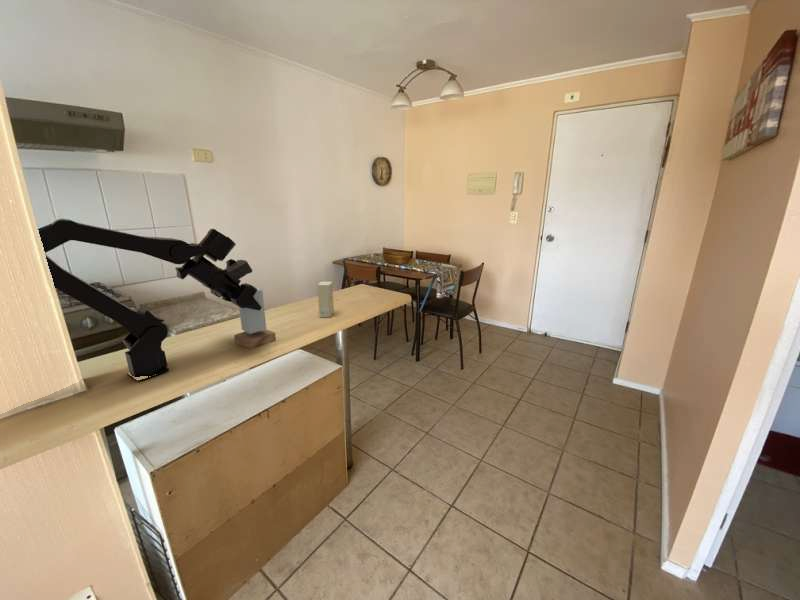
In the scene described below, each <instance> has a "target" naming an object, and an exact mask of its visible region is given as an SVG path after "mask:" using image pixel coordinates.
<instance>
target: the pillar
mask: <svg viewBox="0 0 800 600" xmlns="http://www.w3.org/2000/svg"><path fill="white" fill-rule="evenodd" d="M254 287H255V288H256V289H257V292H256V293H255V295H254V296H253V297H254V298H255V300H256V301H257V302H258V303H259V305H260V306H261V307H262V308H261V310H254V309H249V308H243V309H242V308H240V307H238V308H239V317H240V323H241V324H240V326H241V330H242V331H243V332H247V333H249V334H251V333H255V332H259V331H262V330H267V323H266V322H267V321H266V313H265V304H264V303H265V302H264V294H263V293H264V292H263V289H261V288H258V287H256V286H254Z"/></svg>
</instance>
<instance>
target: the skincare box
mask: <svg viewBox="0 0 800 600" xmlns="http://www.w3.org/2000/svg"><path fill="white" fill-rule="evenodd" d="M316 285H317V289H316V290H317V298H318V302H317V303H318V315H319V318H332V316H333V315H334V314H335V303H334V290H333V281H319V282H318V284H316Z"/></svg>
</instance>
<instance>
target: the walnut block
mask: <svg viewBox="0 0 800 600" xmlns="http://www.w3.org/2000/svg"><path fill="white" fill-rule="evenodd" d="M233 335H234V336H233V337H234V343H235V344H236V345H239V346H242V347H243V346H244V347H243V348H246V347H247V349H248V350H251V349H252V350H255V349H257V347H258V348H260V347H263V346H266V345H267V343H268V344H271V343H273V342H275V340H276V341H277V339H276V332H275V331H272V330H269V329H266V330H262V331H259V332H255V333H251V334H249V333H247V332H245V331H243V332H240V333H236V334H233ZM272 341H273V342H272ZM270 342H271V343H270Z"/></svg>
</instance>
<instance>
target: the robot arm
mask: <svg viewBox="0 0 800 600" xmlns="http://www.w3.org/2000/svg"><path fill="white" fill-rule="evenodd" d="M37 229H38V230H39V234H40V237H41V241H42V243H43V247H44V251H45V255H46V259H47V262H48V266H49V269H50V272H51V275H52V278H53V282H54V286H55V288H54V289H56V290H58V291H59V292H62V293H64V294H65V295H67V296H69V297H70V298H73V299H74V300H76V301H78V302H80V303H81V304H83V305H85V306H87V307H89V308H91V309H92V310H94V311H96V312H98V313H100V314H102V315H103V316H106V317H107V318H109V319H111V320H112V321H114V322H116V323H118V324H119V325H120V326H122V327H123V329H124V330H126V331H127V332H128V333H127V334H126V336H125V337H124V338H123V339H122V342H123V344H124V345H125V346H126V348H127V349H128V351H124V354H125V358H126V364H127V368H128V372H130V374H131V375H132V376H134V377H140V376H148V377H149V376H153V375H155V374H159V373H162V372H165V373H167V372H166V371H168V370H170V369H169V368H168V361H167V356H166V352H165V350H163V349H162V343H163V342H164V340H166V338H167V336H168V334H169V331H168V326H167V325H166V324H164V323H163V322H165V320H164V319H163V318H162V317H161V316H159V314H157V313H153V312H151V311H149V310H148V309H147V308H146V307H144V306H143V305H140V306H139V307H138V309H135V308H131V307H129V306H127V305H125V304H124V303H122V302H121V301H118V300H117V299H115V298H114V297H112V296H110V295H109V294H106V293H105V292H103V291H101V290H100V289H98V288H97V287H95V286H93V285H91V284H90V283H88V282H87V281H84V280H83V279H81V278H80V277H78V276H76V275H74V274H73V273H71V272H69V271H68V270H66V269H64V268H63V267H61V266H60V265H59V264H58V263H57V262H55V261H54V260H53V259H52V258H50V256H49V255H47V254H46V253H48V252H50V251H53V250H54V249H57V248H58V247H59V246H61V245H64V244H65V243H67V242H70V241H76V242H80V243H85V244H86V243H87V244H91V245H97V246H103V247H108V248H114V249H119V250H124V251H130V252H135V253H139V254H140V253H141V254H143V255H144V254H145V255H148V256H150V257H153V258H156V259H159V260H162V261H165V262H168V263H171V264H174V265H182V266H178V267H177V266H176V267H175V271H176V277H177V278H178V279H180V280H184V279H186V278H187V277H188V275H189V276H190V278H192V279H194V280H195V281H197V282H198V283H200V284H202V286H203V287H206V288H208V289H209V290H210V293H211V294H212V295H213V296H215V297H217V298H219V299H220V298H221V299H222V300H224V301H225V302H231V304H233V305H235V306H236V307H238V308H239V307H240V308H242V309H243V308H249V309H254V310H261V308H262V307H261V306H260V305H259V303H258V302H257V301H256V300H255V298H254V297H253V296H254V295H255V293H256V292H257V289H256V288H257V287H256V286H253V285H252V284H250V283H247V282H246V283H241V282H242V280H240V279H242V278H243V277H245V276H247V275H248V274H251V273H253V269H252V267H251V266H250V264H249V262H248V261H247V260H244V259H237V260H235V259H232V258H230V259H228V260H226V261H225V263H226V266H225V269H222V268H221V267H220V266H219V267H218V266H217V265H216V264H215V263H216V262H218V261H219V262H223V261H224V260H225V259H226V257H228V255H229V254H230V252H231V251H232V250H233V249H234V247H235V246H236V245H237V243H236V242H234V240H233V239H231V238H230V237H229V236H226V235H225V234H223V233H222V232H220V231H218V230H217V229H215V228H210V229H209V230H208V231H207V233H206V235H205V236H204V237H203V238H202V240H200V242H199V243H194V242H191V243H188V242H186V241H185V240H183V239H177V238H173V237H159V236H142V235H138V234H137V235H136V234H132V233H128V232H122V231H118V230H113V229H109V228H103V227H100V226H95V225H90V224H86V223H80V222H76V221H73V220H72V219H68V218H58V219H56V220H55V221H53V222H51V223H50V224H49V223H48V224H47V225H45V226H41V227H40V228H37ZM207 258H208V259H207ZM210 260H211V261H212V262H211V261H210ZM213 262H214V263H213ZM240 283H241V284H240ZM255 287H256V288H255ZM168 372H169V371H168ZM162 374H163V373H162ZM159 375H160V374H159ZM153 377H154V376H153Z"/></svg>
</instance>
